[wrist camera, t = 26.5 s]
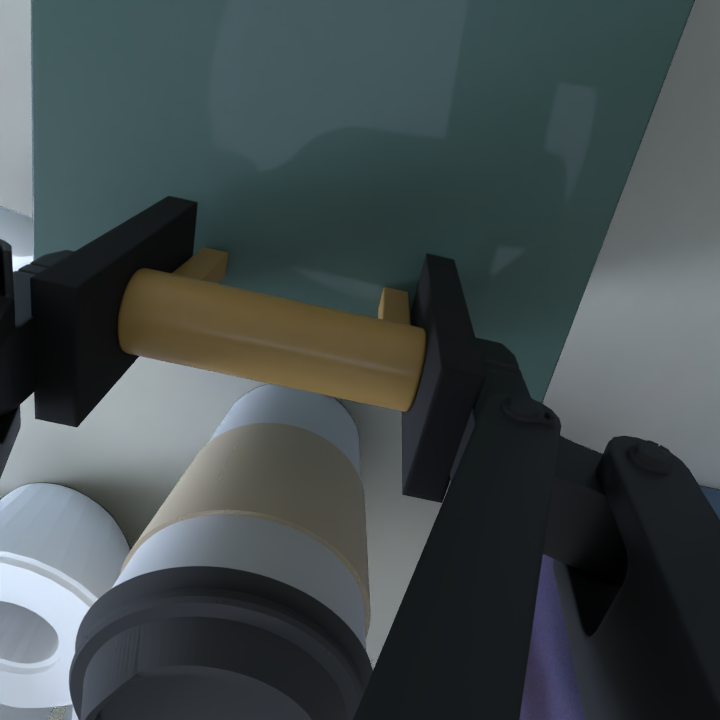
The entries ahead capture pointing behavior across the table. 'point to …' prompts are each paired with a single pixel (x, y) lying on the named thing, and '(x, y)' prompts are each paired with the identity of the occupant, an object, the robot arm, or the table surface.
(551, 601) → the beverage can
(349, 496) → the coffee cup
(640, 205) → the table surface
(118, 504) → the table surface
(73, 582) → the white letter sculpture
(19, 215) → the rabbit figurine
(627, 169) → the lid
